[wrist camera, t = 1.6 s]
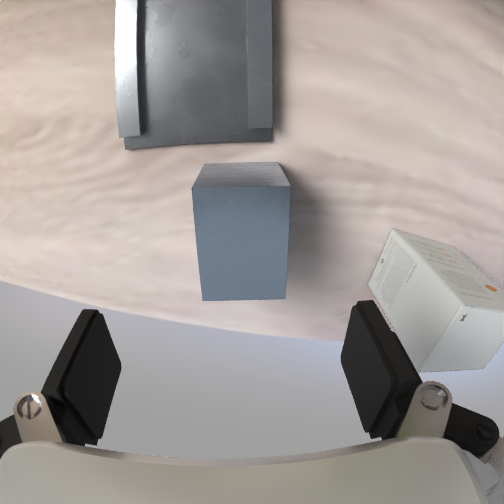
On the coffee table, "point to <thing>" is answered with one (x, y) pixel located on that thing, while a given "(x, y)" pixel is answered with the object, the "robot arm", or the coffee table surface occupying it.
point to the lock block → (242, 230)
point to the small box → (438, 304)
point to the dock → (193, 71)
